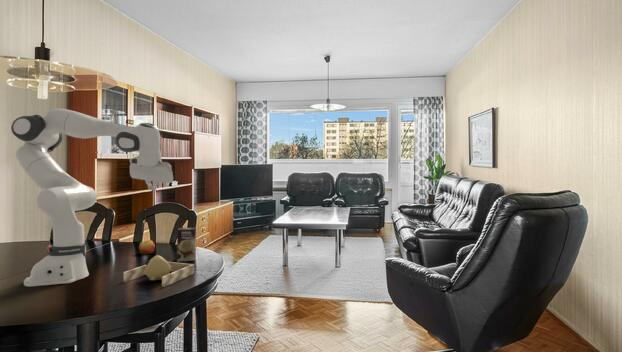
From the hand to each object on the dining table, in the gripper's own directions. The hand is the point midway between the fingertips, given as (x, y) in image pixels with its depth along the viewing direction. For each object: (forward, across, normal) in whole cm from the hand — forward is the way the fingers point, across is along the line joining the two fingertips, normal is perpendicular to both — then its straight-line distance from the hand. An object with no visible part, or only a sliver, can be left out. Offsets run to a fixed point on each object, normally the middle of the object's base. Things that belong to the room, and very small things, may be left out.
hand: (152, 189), depth 167 cm
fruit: (+45, +20, -18) cm, 53 cm away
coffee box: (+40, -8, -13) cm, 43 cm away
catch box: (+33, -14, +16) cm, 39 cm away
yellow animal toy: (+32, -15, +19) cm, 40 cm away
